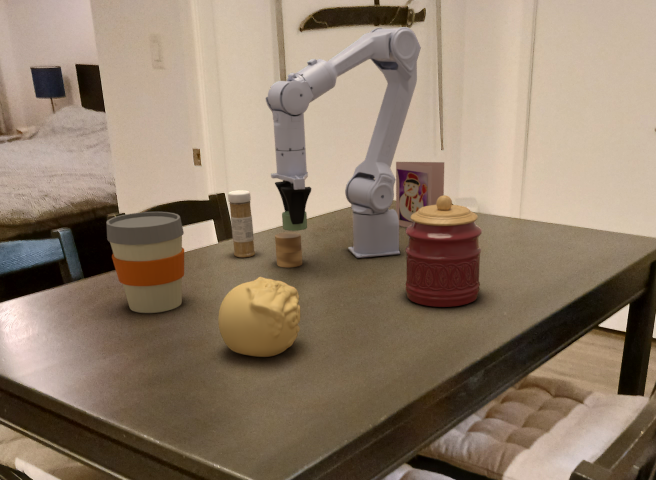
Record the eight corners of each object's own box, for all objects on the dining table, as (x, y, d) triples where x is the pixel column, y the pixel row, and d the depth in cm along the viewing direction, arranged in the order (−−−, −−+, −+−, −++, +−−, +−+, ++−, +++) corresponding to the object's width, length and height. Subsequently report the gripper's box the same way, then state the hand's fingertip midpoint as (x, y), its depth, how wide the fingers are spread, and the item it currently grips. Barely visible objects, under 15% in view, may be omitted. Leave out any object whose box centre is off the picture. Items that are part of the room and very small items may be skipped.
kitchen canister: (449, 313, 126) (452, 206, 119) (390, 298, 134) (389, 197, 127) (493, 294, 135) (498, 193, 127) (435, 281, 143) (437, 185, 135)
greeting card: (393, 225, 185) (393, 162, 179) (414, 220, 190) (415, 158, 183) (428, 233, 177) (429, 167, 171) (449, 227, 182) (451, 163, 176)
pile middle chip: (293, 245, 158) (292, 230, 157) (306, 250, 154) (305, 235, 153) (271, 249, 155) (270, 234, 154) (284, 254, 151) (282, 239, 150)
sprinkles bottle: (248, 251, 166) (242, 188, 160) (259, 255, 162) (254, 191, 157) (229, 255, 163) (223, 191, 157) (240, 259, 160) (234, 194, 154)
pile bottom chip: (299, 259, 159) (299, 245, 157) (304, 266, 154) (303, 251, 153) (275, 261, 157) (274, 247, 156) (279, 268, 153) (278, 253, 152)
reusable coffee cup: (103, 312, 131) (88, 225, 124) (147, 290, 141) (135, 209, 135) (164, 319, 126) (152, 230, 120) (205, 297, 137) (196, 213, 131)
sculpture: (291, 366, 107) (286, 293, 103) (210, 362, 109) (202, 290, 105) (311, 337, 118) (307, 269, 113) (236, 334, 120) (230, 267, 115)
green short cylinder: (304, 224, 153) (303, 209, 152) (309, 229, 149) (308, 214, 147) (280, 226, 152) (279, 211, 150) (285, 231, 147) (284, 216, 146)
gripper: (263, 145, 149) (268, 214, 155) (276, 155, 137) (281, 230, 142) (298, 143, 151) (302, 212, 157) (314, 153, 138) (317, 227, 144)
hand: (294, 220), depth 150 cm, fingers closed on green short cylinder, 5 cm apart
